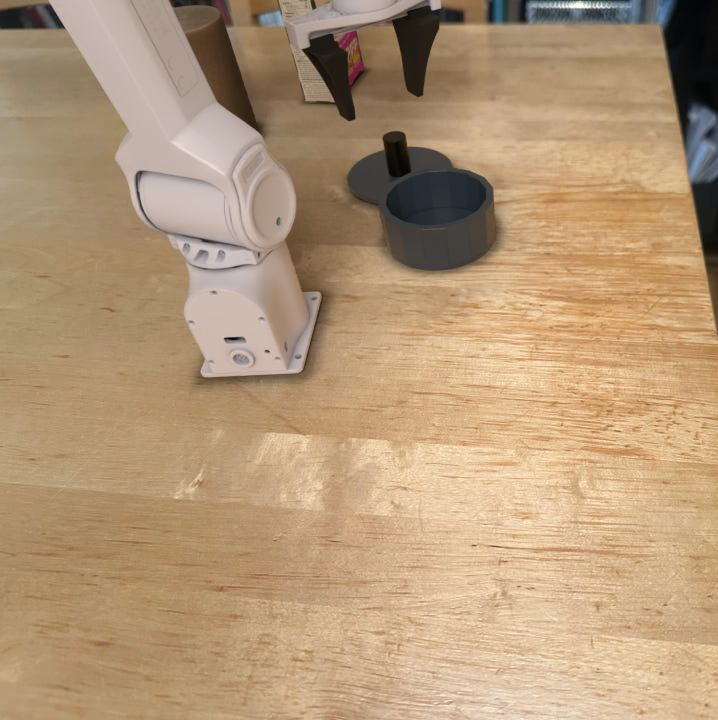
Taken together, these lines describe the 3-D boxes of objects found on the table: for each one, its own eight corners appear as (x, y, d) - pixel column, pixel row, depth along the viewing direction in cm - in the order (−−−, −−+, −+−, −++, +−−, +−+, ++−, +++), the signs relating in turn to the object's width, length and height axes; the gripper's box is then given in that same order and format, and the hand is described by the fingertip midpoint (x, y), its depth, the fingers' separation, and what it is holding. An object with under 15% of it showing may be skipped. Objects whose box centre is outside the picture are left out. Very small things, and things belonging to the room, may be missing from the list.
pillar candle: (276, 131, 80) (237, -2, 70) (214, 167, 75) (161, 28, 64) (224, 116, 84) (178, -13, 74) (161, 148, 79) (103, 15, 68)
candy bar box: (332, 69, 93) (302, -65, 81) (365, 70, 92) (340, -66, 81) (301, 103, 85) (264, -39, 74) (337, 104, 85) (305, -40, 73)
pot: (496, 267, 58) (494, 225, 55) (381, 273, 59) (372, 232, 56) (494, 204, 66) (492, 164, 62) (392, 210, 66) (384, 170, 63)
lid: (452, 206, 66) (447, 160, 62) (342, 212, 66) (330, 167, 63) (454, 152, 74) (450, 108, 70) (356, 158, 74) (347, 114, 70)
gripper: (404, -80, 59) (422, 72, 69) (254, -46, 54) (297, 114, 63) (447, -68, 55) (460, 92, 65) (290, -29, 50) (329, 139, 59)
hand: (382, 105), depth 64 cm, fingers open, 7 cm apart
